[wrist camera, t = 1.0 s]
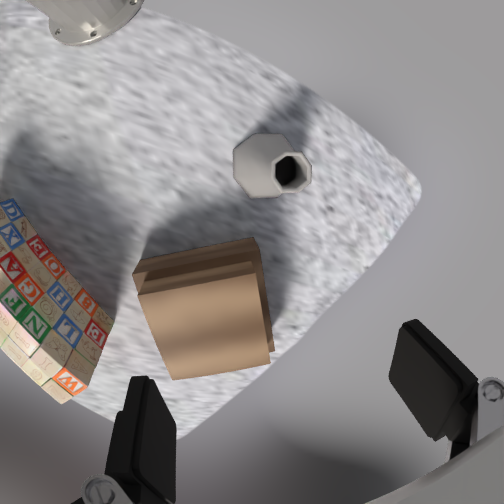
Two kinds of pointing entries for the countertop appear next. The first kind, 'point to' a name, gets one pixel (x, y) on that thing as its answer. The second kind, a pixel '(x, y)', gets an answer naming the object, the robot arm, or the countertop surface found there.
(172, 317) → the stepped wooden pedestal
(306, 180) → the flask
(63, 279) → the stack of blocks
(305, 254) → the countertop surface
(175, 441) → the robot arm
